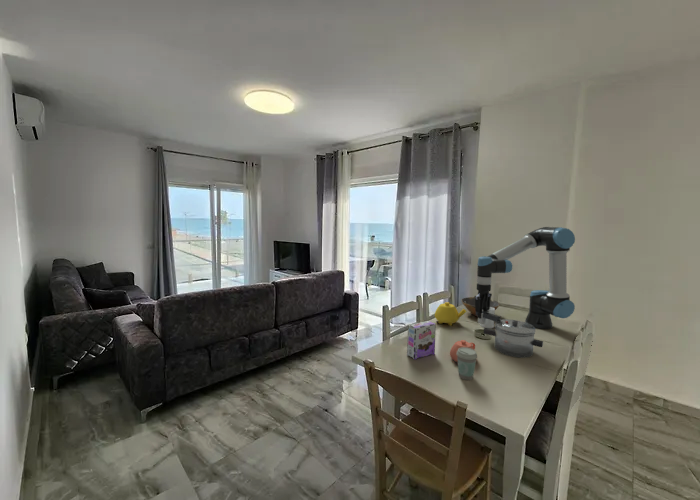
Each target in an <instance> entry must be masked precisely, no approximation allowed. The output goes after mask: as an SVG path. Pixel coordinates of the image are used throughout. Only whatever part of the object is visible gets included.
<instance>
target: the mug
mask: <svg viewBox="0 0 700 500" xmlns="http://www.w3.org/2000/svg"><path fill="white" fill-rule="evenodd" d="M482 311H483V310H482ZM488 311H489V312H488V313H491V314H494V315H496V314H495V312H496V310H495V308H493V307H490V309H489V310H488ZM479 327H482V328H483V329H485V328H488V329H493V328H495V321H492V320H489V319H486V323H484V322H483V324H480V323H479Z"/></svg>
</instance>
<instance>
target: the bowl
mask: <svg viewBox="0 0 700 500" xmlns="http://www.w3.org/2000/svg"><path fill="white" fill-rule="evenodd" d="M460 301H461V303H462V304H463V306H464V307H465V308H466V310H468V312H470V313H471V314H472V315H473V316H475V317H478V316H477V315H476V311H475V297H474V296H472V297H471V296H470V297H468V296H467V297H463V298H461V300H460ZM500 305H501V304H500V302H498V301H496V300H492V299H491V301H490V307H493V308H495V311H496V310H497V309H498V308H499V306H500Z"/></svg>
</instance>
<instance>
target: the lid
mask: <svg viewBox="0 0 700 500" xmlns="http://www.w3.org/2000/svg"><path fill="white" fill-rule="evenodd" d="M482 313H483V318H486V319H489V320H492V321H494V327H495V326H496V327H497V328H498V329H500V330H503V331H506V332H509V333H514V334H533V333H535V334H536V329H537V328H535V327H534V326H533V325H531V324H528V323H526V322H525V321H521V320H518V319H508V318H507V319H501V318H502V317H501V316H500V315H497V314H495V315H494V314H491V313H488V312H484V311H482ZM476 315H477V316H476V317H478V312H476Z"/></svg>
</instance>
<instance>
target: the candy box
mask: <svg viewBox="0 0 700 500" xmlns="http://www.w3.org/2000/svg"><path fill="white" fill-rule="evenodd" d="M436 328H437V325H436V323H435V322H432V321H430V320H426V321H421V322H416V323H411V324H408V325H407V342H406V343H407V345H406V347H407V348H406V351H407V352H406V355H407V357H409V356H410V357H409V358H411V359H412V358H413V359H412V360H418V359H421V357H422V358H424V356H426V357H429V356H432V354H433V355H435V353H436V350H435V349H436ZM417 358H418V359H417Z"/></svg>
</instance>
